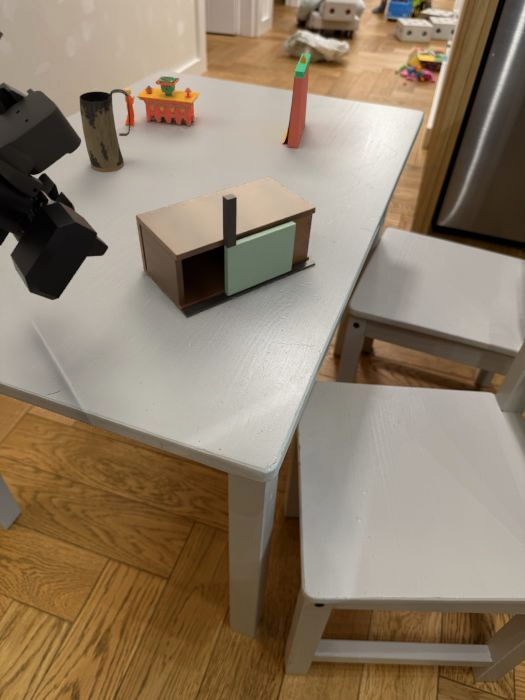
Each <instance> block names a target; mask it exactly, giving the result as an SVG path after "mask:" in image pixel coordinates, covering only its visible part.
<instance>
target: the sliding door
mask: <svg viewBox="0 0 525 700" xmlns="http://www.w3.org/2000/svg"><path fill="white" fill-rule="evenodd" d="M236 220H237V197H236V196H234V195H233V194H228V195H225V196H223V245H224V259H225V293H226V294H227V295H228V296H230V295H232V294H235V293H237V292H239V291H242V290H244V289H247V288H249V287H252V286H254V285H257V284H259V283H262V282H264V281H266V280H269V279H271V278H274V277H276V276H279V275H281V274H284V273H286V272H289V271H291V268H292V258H293V249H294V239H295V230H296V223H294V222H293V221H291V222H288V223H285V224H282V225H280V226H277V227H274V228H271V229H268V230H265V231H263V232H260V233H257V234H254V235H251V236H248V237H245V238H243V239H240V240H237V241H236Z"/></svg>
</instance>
